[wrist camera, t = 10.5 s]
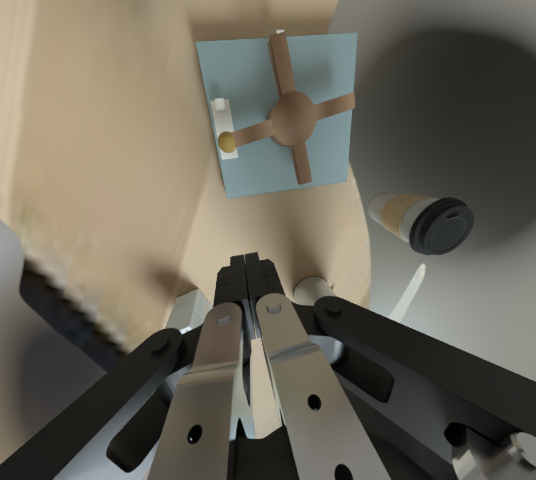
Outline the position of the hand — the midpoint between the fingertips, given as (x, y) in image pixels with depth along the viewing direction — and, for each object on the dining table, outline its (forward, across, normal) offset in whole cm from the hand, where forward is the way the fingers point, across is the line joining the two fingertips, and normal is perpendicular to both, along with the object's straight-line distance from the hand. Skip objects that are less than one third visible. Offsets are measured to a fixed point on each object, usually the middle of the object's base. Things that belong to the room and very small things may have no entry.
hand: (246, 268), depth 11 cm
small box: (+27, +14, +25) cm, 40 cm away
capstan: (+24, -8, -9) cm, 27 cm away
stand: (+27, -9, -9) cm, 30 cm away
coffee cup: (+27, -30, +8) cm, 41 cm away
